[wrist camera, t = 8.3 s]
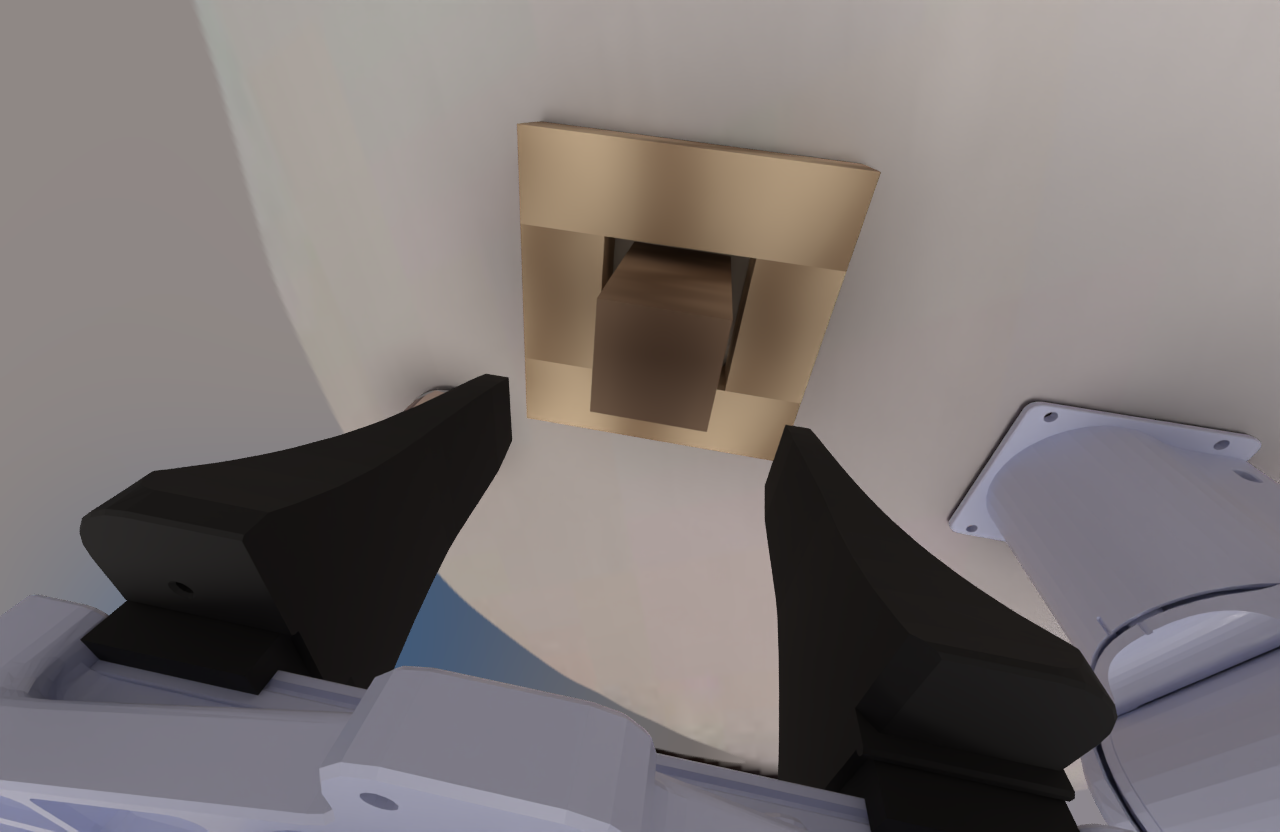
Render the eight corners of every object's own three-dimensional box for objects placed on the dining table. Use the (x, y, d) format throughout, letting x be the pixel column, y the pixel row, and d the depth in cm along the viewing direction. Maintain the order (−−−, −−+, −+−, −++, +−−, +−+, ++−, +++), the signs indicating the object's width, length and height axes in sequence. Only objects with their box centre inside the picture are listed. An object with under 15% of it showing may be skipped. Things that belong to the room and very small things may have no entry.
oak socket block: (862, 163, 17) (880, 172, 15) (775, 431, 24) (780, 461, 22) (540, 121, 18) (517, 123, 16) (543, 391, 25) (526, 417, 23)
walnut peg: (730, 256, 20) (732, 320, 14) (711, 344, 22) (706, 432, 16) (634, 241, 20) (596, 298, 14) (625, 330, 22) (589, 411, 16)
